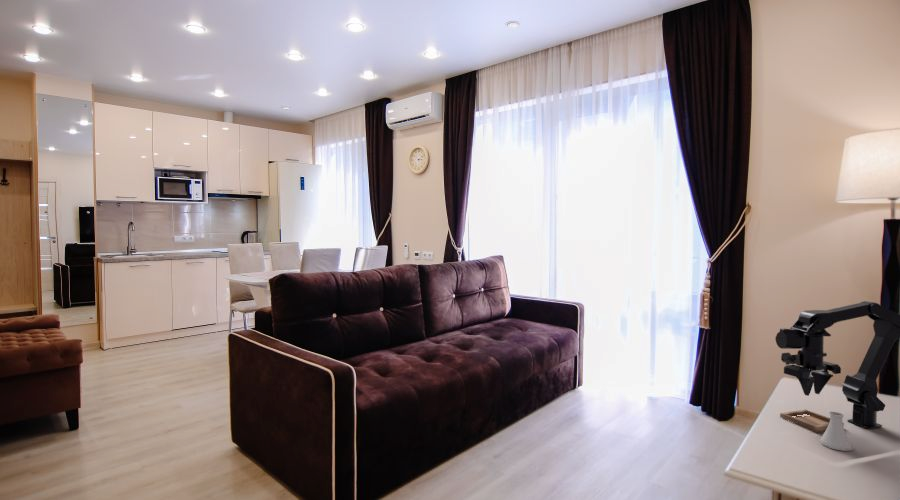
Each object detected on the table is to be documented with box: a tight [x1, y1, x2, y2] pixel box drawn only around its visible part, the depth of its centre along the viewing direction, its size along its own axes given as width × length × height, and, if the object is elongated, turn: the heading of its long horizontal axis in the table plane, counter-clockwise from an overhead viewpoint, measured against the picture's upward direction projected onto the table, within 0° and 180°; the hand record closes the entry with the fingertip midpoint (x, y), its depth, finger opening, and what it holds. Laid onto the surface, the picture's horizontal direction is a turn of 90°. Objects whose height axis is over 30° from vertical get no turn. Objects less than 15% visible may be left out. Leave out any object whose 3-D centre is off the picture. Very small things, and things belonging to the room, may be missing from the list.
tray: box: [779, 409, 844, 434], centre depth 151 cm, size 12×12×2 cm
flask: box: [819, 411, 853, 452], centre depth 135 cm, size 7×7×10 cm
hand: (811, 394), depth 151 cm, fingers open, 4 cm apart
